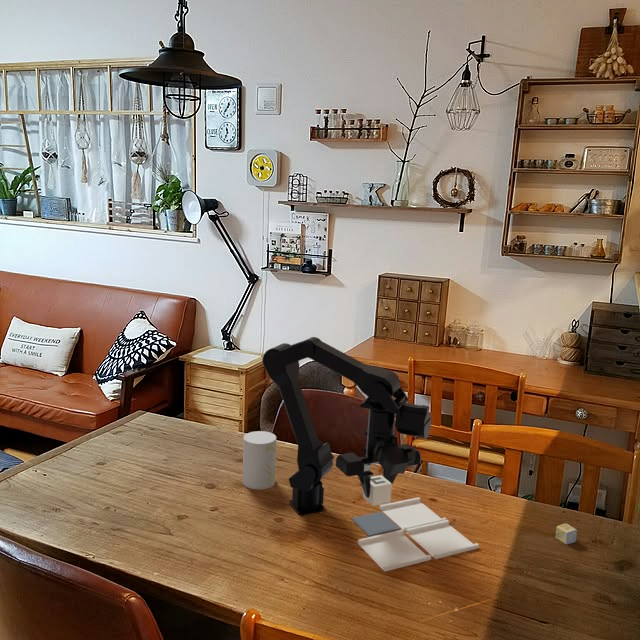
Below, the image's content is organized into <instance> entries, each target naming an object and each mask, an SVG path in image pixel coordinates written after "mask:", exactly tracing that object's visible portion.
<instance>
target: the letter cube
mask: <svg viewBox="0 0 640 640" xmlns="http://www.w3.org/2000/svg"><path fill="white" fill-rule="evenodd" d="M392 486H393V484H392V483H390V482H389V481H388V480H387V479H386V478H384V477H383V474H380V475H373V476H372V477H371V481H370V495H369V498H367V497H366V496H365V494H364V491H363V490H362V498H363V499H364V500H366V502H368V503H369V504H370V506H372V507H374V506H380V505H384V504H389V503H392V502H391V500H392V499H391V497H392Z"/></svg>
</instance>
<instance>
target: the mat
mask: <svg viewBox="0 0 640 640" xmlns="http://www.w3.org/2000/svg"><path fill="white" fill-rule="evenodd" d="M350 519H351V520H352V522H353V523H354V524H356V525H357V526H358V528H359V529H360V530H361V531H362V532H363V533H365V534H366V536H367V537H372V536H376V535H380V534H385V533H389V532H394V531H398V530H401V528H400V527H399V526H398V525H397V524H396V523H395V522H394V521H393V520H392V519H390V518H389V517H388V516H387V515H386V514H385V513H384V512H383V511H382V510H380V511H377V512H372V513H368V514H363V515H358V516H353V517H351V518H350Z"/></svg>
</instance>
